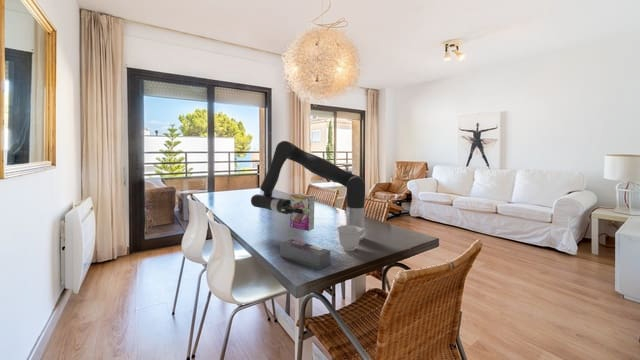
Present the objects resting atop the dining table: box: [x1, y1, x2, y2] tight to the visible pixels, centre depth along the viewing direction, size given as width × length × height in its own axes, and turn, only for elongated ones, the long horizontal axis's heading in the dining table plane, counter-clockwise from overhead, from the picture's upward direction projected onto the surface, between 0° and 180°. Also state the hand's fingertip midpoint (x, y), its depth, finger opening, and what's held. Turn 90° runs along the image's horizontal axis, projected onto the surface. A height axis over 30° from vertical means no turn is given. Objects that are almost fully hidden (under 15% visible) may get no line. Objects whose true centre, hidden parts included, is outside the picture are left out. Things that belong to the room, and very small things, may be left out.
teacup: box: [336, 224, 368, 252], centre depth 133 cm, size 12×15×10 cm
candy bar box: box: [289, 192, 316, 232], centre depth 135 cm, size 11×5×16 cm, turn 58°
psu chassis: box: [279, 238, 331, 271], centre depth 119 cm, size 7×22×6 cm, turn 52°
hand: (306, 210), depth 133 cm, fingers closed on candy bar box, 5 cm apart
